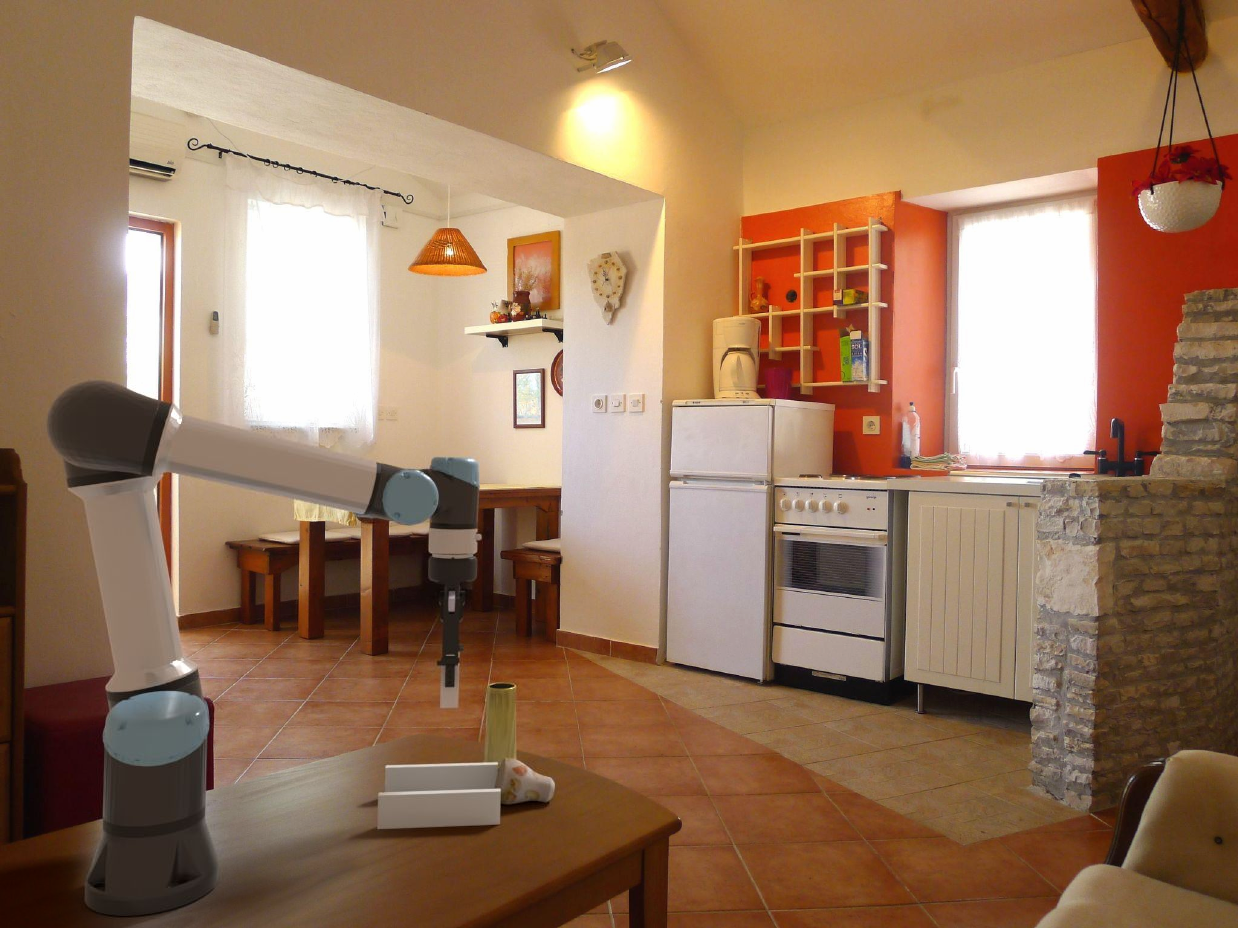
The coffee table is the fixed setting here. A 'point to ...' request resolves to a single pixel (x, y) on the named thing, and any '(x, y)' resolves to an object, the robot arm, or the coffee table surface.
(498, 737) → the vase
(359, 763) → the coffee table surface
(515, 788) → the mug
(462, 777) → the channel
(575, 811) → the coffee table surface
